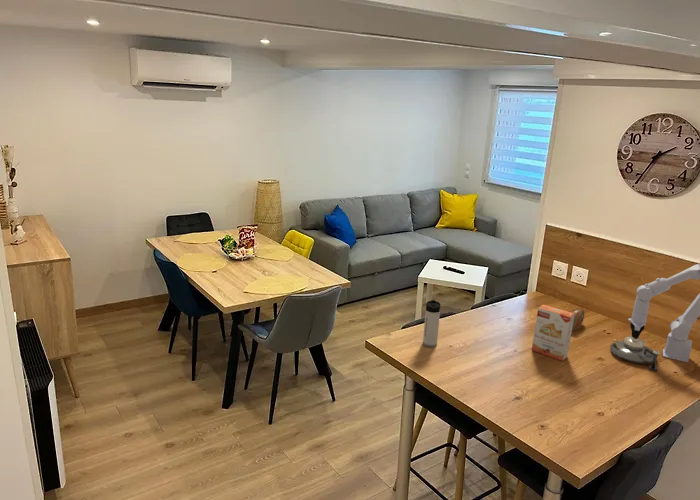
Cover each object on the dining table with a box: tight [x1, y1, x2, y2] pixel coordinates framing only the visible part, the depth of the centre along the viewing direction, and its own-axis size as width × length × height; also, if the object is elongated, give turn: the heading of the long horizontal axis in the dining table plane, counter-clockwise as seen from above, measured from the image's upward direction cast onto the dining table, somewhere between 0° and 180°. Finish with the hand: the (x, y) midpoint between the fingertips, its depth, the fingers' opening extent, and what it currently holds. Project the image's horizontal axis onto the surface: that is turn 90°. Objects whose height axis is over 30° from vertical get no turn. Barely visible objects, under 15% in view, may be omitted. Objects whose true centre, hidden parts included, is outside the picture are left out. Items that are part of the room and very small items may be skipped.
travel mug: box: [422, 299, 441, 348], centre depth 233 cm, size 6×7×20 cm
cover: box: [623, 336, 646, 351], centre depth 234 cm, size 8×8×4 cm
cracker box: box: [531, 304, 575, 362], centre depth 228 cm, size 14×6×21 cm, turn 49°
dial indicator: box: [644, 348, 661, 372], centre depth 222 cm, size 6×6×8 cm
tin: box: [571, 308, 585, 331], centre depth 258 cm, size 15×3×8 cm, turn 136°
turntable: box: [609, 338, 654, 364], centre depth 231 cm, size 18×18×4 cm
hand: (634, 339), depth 239 cm, fingers closed
